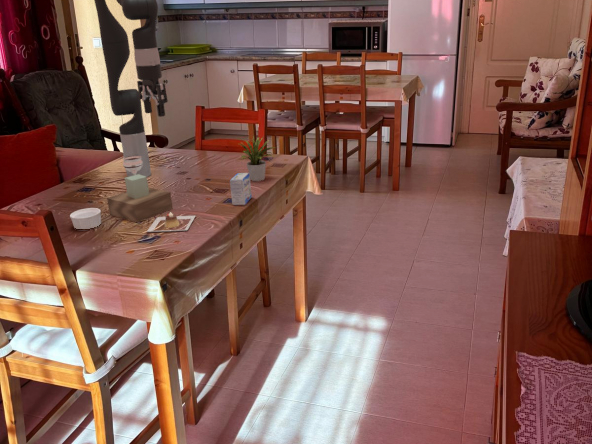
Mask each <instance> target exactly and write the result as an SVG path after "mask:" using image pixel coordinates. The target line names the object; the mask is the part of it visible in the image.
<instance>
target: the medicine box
mask: <svg viewBox="0 0 592 444" xmlns="http://www.w3.org/2000/svg"><path fill="white" fill-rule="evenodd" d="M229 185H230V195H231V204H232V205H233V206H246V205H247V204H248V203H249V201H250V199H252V198H253V197H252V187H251V179H250V175H249V172H238V173H236V174H235V175H234V176H233V177H231V179H230V180H229Z"/></svg>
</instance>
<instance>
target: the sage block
mask: <svg viewBox="0 0 592 444" xmlns="http://www.w3.org/2000/svg"><path fill="white" fill-rule="evenodd" d="M124 183H125V189H126V192H127V196H129V197H131V198H134V199H137V198H141V197H144V196H148V195H149V189H148V188H149V183H148V177H146V176H143V175H140V174H138V175H134V176H130V177H127V176H126V177H124Z"/></svg>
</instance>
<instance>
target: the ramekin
mask: <svg viewBox="0 0 592 444" xmlns="http://www.w3.org/2000/svg"><path fill="white" fill-rule="evenodd" d="M101 212H102V211H101V209H100V208H96V207H87V208H81V209H78V210H75V211H73V212H72V213H70V215H69V217H70V220H71V222H72V225H73V228H74V229H75V228H76V229H90V228H94V227H96V228H98V227H100V226H101V225H100V224H102V216H101ZM99 225H100V226H99ZM97 226H98V227H97ZM76 229H75V230H76ZM94 229H95V228H94ZM90 230H91V229H90Z"/></svg>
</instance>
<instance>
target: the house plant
mask: <svg viewBox="0 0 592 444" xmlns="http://www.w3.org/2000/svg"><path fill="white" fill-rule="evenodd" d="M263 139H264V136H262V137H261V138H260V137H259V136H258V137H257V138H256V140H255V135H254V134H253V136H252V145H251V143H250V142H249V141H248V140H245V142H246V144H247V146H246V145H245V144H243V142H244V140H242V141H243V142H241V141H240V143H239V145H240V146H242V148H243V149H245V150H243V151H242V152H243V153H244V154H246V155H241V157H240V159H242V160H244V159H246V158H247V159H248V160H249V161H248V162H246V167H247V170H248V172H247V173H249V175H250V181H251V180H252V181H251V182H262V181H264V180H265V178H266V166H267V162H266V161H265V160H263V158H265V157H267V156H270V157H272V155H273V152H271V151H269V150H271V149H276V148H277V147H273V146H272V147H267V146H269V141H271V140H272V139H268V140H267V141H265V142H264V143H263V145H262V146H260V144H261V142H262V140H263ZM248 147H249V148H248ZM259 147H260V148H259ZM268 151H269V152H268ZM261 180H262V181H261Z"/></svg>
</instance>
